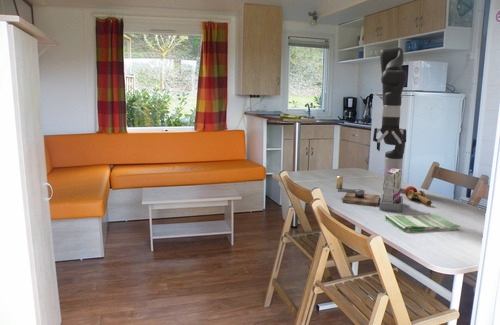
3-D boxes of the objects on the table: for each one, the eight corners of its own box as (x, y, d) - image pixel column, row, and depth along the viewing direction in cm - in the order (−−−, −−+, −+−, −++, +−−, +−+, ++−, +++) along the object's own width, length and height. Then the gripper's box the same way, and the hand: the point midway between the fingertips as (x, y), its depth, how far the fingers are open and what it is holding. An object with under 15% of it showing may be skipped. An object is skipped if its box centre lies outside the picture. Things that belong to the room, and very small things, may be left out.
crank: (364, 195, 199) (365, 177, 197) (363, 197, 194) (364, 179, 193) (336, 192, 203) (337, 175, 202) (335, 194, 199) (336, 177, 198)
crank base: (379, 197, 202) (379, 194, 202) (377, 206, 187) (377, 202, 187) (346, 194, 207) (347, 191, 207) (342, 202, 193) (342, 199, 192)
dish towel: (461, 231, 156) (461, 224, 155) (404, 234, 152) (405, 227, 152) (433, 217, 173) (434, 211, 173) (382, 219, 170) (383, 213, 169)
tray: (402, 203, 192) (402, 196, 192) (402, 212, 178) (402, 204, 177) (381, 201, 196) (381, 194, 195) (379, 209, 181) (379, 202, 181)
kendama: (436, 208, 190) (414, 193, 207) (437, 196, 188) (414, 182, 205) (421, 211, 189) (401, 196, 206) (421, 199, 187) (400, 185, 204)
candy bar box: (388, 201, 193) (391, 168, 190) (399, 203, 190) (402, 169, 187) (381, 207, 184) (384, 171, 181) (392, 208, 181) (395, 173, 178)
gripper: (407, 115, 182) (405, 151, 185) (375, 114, 187) (372, 149, 190) (408, 116, 176) (405, 153, 178) (374, 115, 180) (371, 151, 183)
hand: (388, 151), depth 184 cm, fingers open, 8 cm apart
